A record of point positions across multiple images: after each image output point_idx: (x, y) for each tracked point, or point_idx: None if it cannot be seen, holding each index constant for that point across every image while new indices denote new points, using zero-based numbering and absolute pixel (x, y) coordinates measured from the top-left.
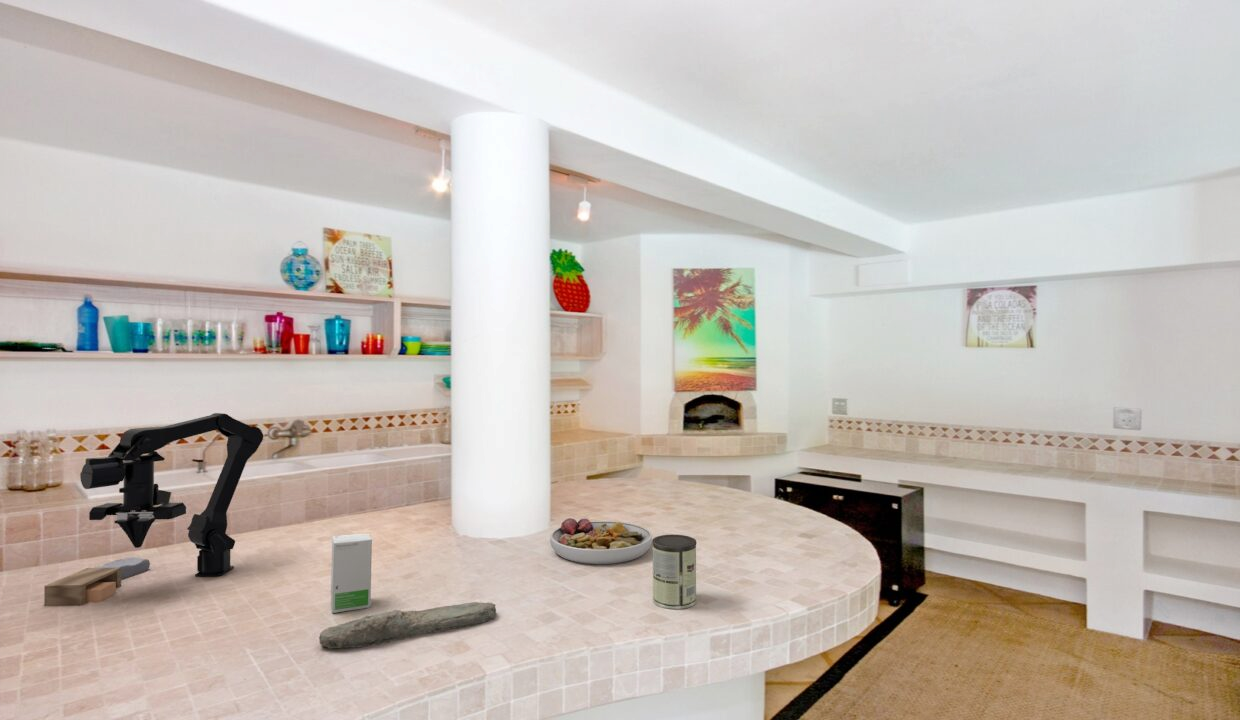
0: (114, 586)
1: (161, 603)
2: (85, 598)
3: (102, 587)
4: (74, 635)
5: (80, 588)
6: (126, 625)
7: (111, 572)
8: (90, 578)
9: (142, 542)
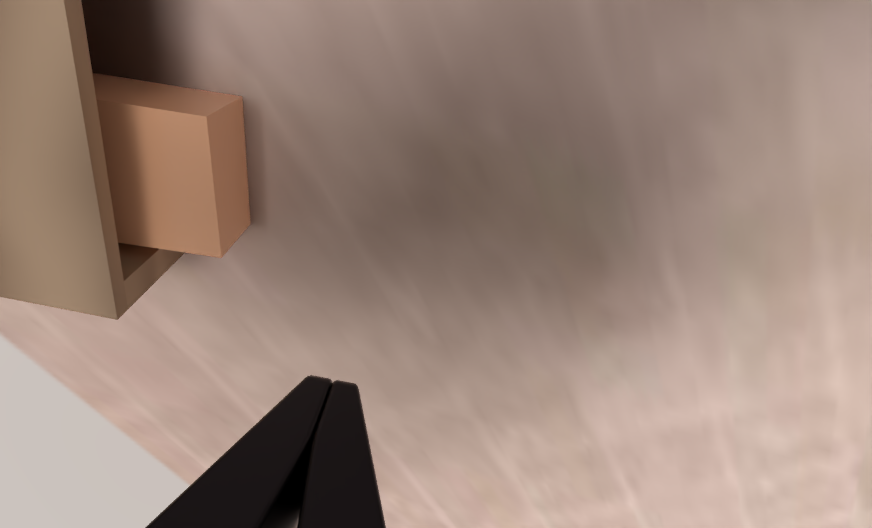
0: (221, 125)
1: (585, 335)
2: None
3: (199, 219)
4: (387, 515)
5: (126, 306)
6: (520, 493)
7: (74, 34)
8: (51, 195)
9: (362, 436)
